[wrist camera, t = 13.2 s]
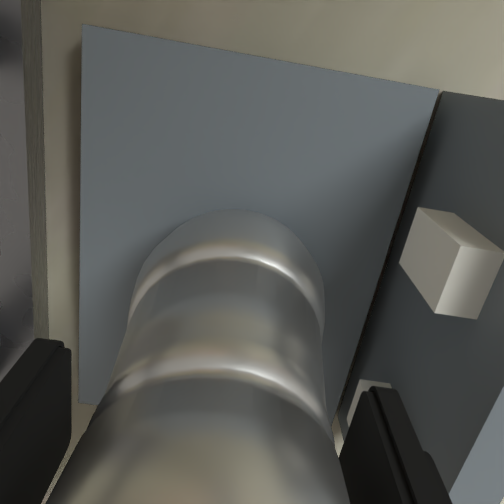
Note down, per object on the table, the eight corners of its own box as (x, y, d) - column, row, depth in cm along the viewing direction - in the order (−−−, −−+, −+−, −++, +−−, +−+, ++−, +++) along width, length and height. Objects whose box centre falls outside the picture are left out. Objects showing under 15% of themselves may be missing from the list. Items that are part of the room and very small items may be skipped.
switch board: (97, 27, 15) (-87, -14, 7) (481, 98, 16) (715, 136, 8) (89, 381, 22) (-13, 575, 14) (365, 419, 23) (428, 624, 14)
